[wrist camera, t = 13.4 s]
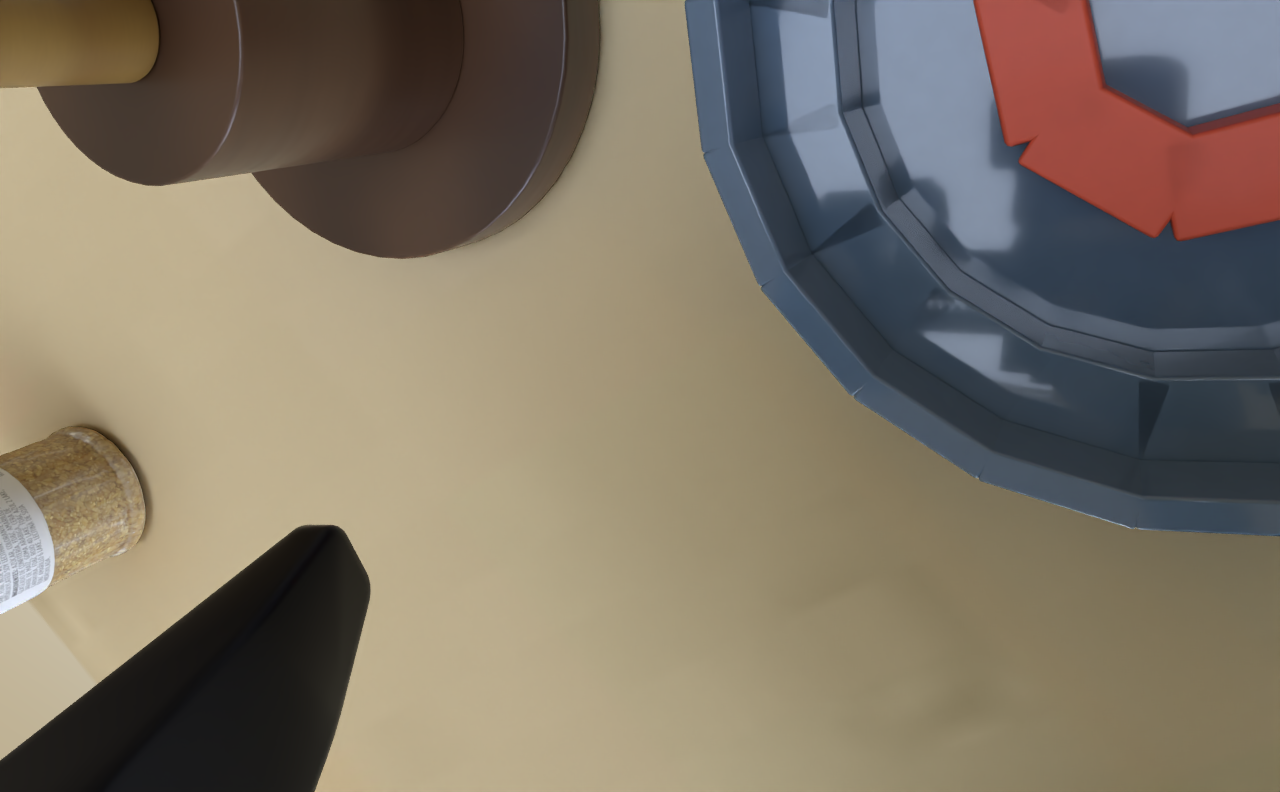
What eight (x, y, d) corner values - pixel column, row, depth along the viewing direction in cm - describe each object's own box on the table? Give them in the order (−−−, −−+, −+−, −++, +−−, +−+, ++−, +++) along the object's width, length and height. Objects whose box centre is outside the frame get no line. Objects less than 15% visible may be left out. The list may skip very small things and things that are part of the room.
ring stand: (633, -198, 19) (196, -414, 10) (570, 293, 23) (214, 454, 14) (237, -239, 23) (-358, -429, 14) (240, 197, 27) (-220, 276, 17)
